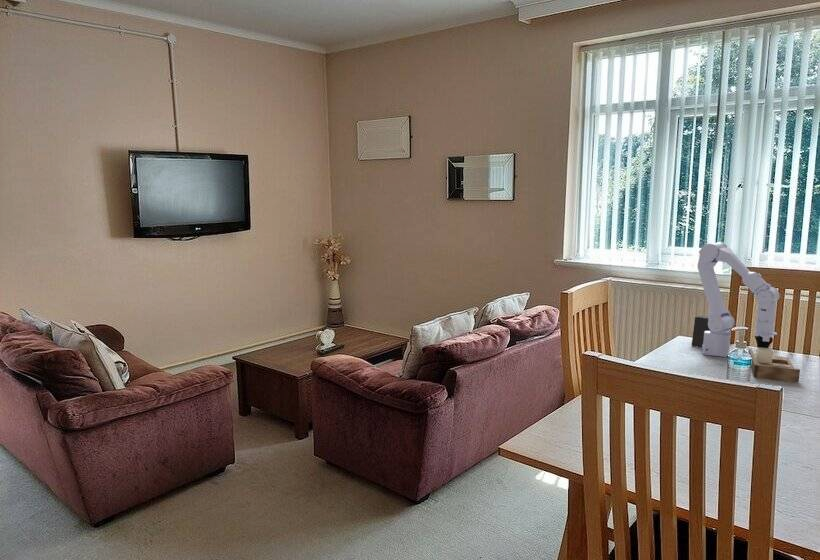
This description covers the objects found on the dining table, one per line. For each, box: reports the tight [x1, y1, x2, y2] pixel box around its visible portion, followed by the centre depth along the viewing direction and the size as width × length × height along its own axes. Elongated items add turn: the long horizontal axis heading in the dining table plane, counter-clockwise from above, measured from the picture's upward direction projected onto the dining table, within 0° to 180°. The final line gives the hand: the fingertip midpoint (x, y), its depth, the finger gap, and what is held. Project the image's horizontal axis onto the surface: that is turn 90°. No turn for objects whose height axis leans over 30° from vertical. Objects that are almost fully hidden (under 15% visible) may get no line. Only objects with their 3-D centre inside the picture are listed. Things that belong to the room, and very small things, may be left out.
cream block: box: [756, 347, 774, 364], centre depth 209 cm, size 4×4×4 cm
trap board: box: [747, 347, 801, 383], centre depth 206 cm, size 13×25×4 cm, turn 154°
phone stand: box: [691, 315, 710, 348], centre depth 238 cm, size 9×6×12 cm, turn 145°
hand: (761, 355), depth 213 cm, fingers closed
